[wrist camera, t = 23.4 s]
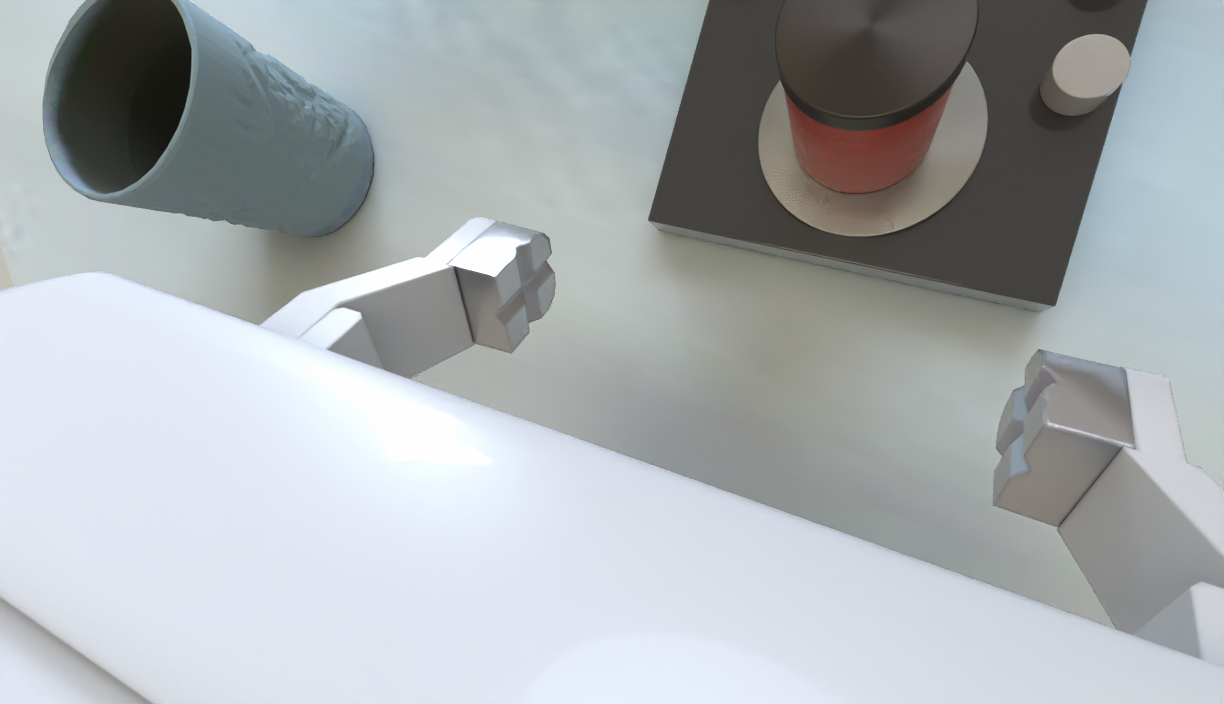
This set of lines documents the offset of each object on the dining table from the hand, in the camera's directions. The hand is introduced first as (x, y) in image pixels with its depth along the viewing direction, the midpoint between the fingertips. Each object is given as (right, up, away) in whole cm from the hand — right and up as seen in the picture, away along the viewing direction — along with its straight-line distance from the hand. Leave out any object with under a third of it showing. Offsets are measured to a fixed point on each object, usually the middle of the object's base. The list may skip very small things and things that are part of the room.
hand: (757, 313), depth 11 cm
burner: (+8, +9, +16) cm, 20 cm away
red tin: (+8, +9, +16) cm, 20 cm away
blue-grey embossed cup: (-21, +10, +29) cm, 37 cm away
